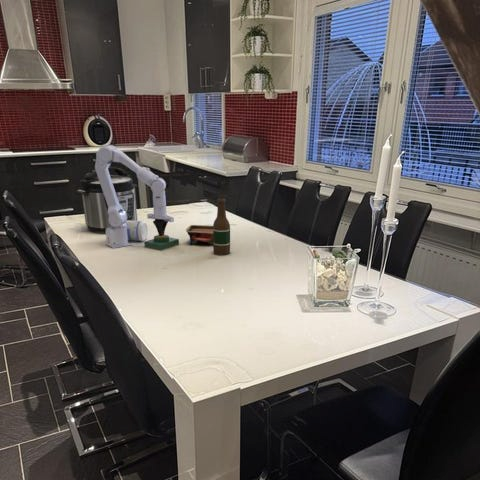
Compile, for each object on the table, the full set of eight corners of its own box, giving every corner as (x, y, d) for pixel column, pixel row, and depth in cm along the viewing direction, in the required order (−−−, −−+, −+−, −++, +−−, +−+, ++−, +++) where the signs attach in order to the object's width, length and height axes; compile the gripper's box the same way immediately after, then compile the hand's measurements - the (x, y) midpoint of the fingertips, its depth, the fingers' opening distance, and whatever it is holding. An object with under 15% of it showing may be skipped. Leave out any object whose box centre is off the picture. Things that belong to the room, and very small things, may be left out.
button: (162, 240, 216) (161, 236, 215) (155, 239, 218) (155, 235, 217) (167, 238, 219) (167, 235, 218) (161, 237, 221) (160, 234, 220)
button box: (160, 250, 212) (160, 241, 210) (144, 247, 217) (143, 237, 215) (179, 244, 222) (178, 235, 220) (163, 241, 227) (162, 232, 225)
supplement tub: (142, 243, 224) (113, 242, 226) (149, 238, 232) (121, 236, 235) (139, 223, 219) (110, 222, 222) (147, 218, 228) (119, 217, 230)
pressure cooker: (80, 236, 234) (72, 170, 221) (85, 223, 259) (77, 164, 246) (141, 233, 241) (136, 169, 227) (140, 222, 266) (135, 163, 253)
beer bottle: (228, 255, 206) (228, 200, 196) (211, 254, 207) (210, 199, 197) (231, 251, 213) (232, 197, 203) (215, 250, 214) (214, 196, 204)
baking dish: (217, 251, 219) (220, 231, 215) (181, 243, 221) (183, 222, 217) (223, 246, 232) (227, 226, 228) (189, 238, 234) (192, 218, 230)
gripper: (177, 206, 212) (179, 235, 217) (153, 203, 219) (155, 231, 224) (167, 208, 206) (169, 239, 212) (143, 205, 213) (145, 234, 219)
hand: (161, 235), depth 218 cm, fingers closed, pressing on button
